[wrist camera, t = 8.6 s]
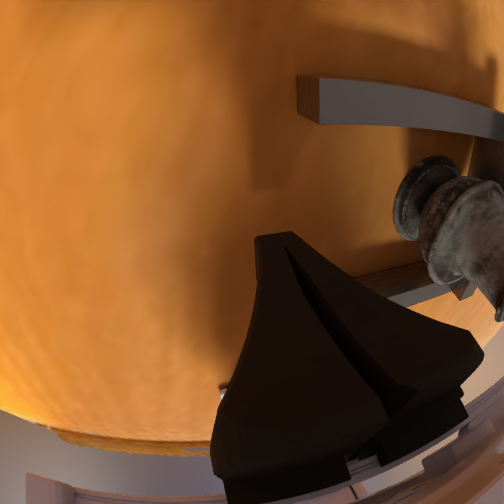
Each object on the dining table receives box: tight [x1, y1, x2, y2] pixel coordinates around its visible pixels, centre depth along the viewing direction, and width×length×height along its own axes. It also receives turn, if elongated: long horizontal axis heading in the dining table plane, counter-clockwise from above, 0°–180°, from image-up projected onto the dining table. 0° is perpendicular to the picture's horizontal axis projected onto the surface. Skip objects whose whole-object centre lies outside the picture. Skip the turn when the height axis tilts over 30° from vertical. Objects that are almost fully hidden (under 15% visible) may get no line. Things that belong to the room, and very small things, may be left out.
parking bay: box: [297, 75, 504, 308], centre depth 12 cm, size 12×12×3 cm
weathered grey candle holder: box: [393, 156, 504, 322], centre depth 8 cm, size 6×6×12 cm
